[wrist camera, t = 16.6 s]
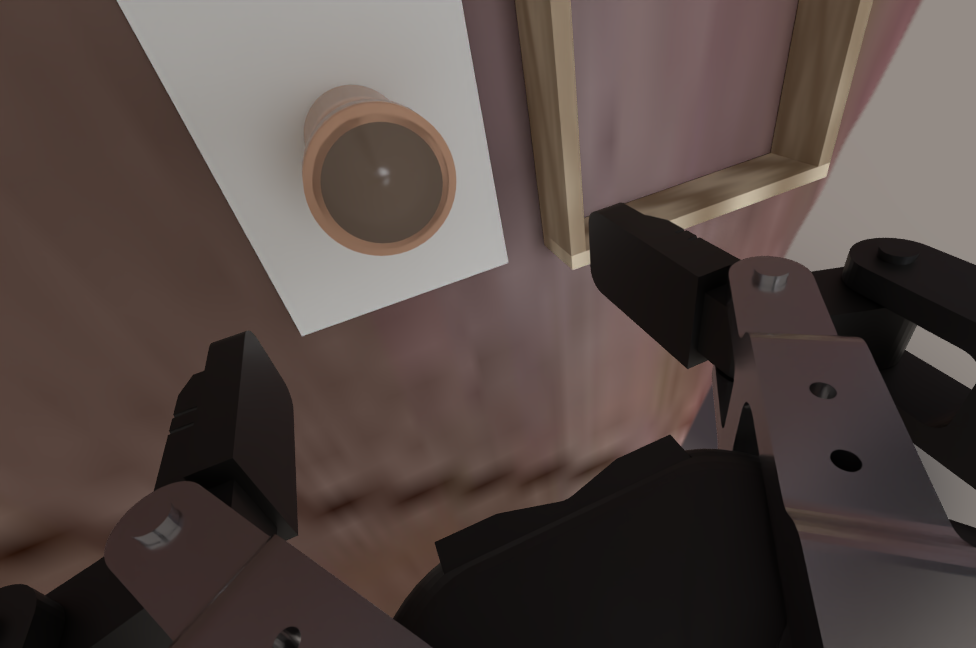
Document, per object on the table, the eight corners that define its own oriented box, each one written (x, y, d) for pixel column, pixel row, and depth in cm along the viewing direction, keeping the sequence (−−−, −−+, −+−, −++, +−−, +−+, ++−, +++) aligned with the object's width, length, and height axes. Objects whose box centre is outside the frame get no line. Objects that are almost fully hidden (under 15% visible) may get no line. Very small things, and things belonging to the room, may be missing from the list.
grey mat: (301, 330, 29) (302, 336, 29) (75, -83, 17) (69, -86, 17) (504, 259, 32) (508, 262, 31) (430, -148, 20) (434, -152, 19)
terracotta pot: (327, 211, 25) (343, 277, 19) (274, 99, 22) (271, 135, 16) (426, 175, 26) (472, 227, 20) (390, 62, 23) (432, 82, 16)
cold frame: (544, 245, 32) (597, 292, 27) (495, -160, 20) (574, -222, 15) (778, 162, 36) (868, 189, 30) (855, -226, 24) (1027, -296, 18)
